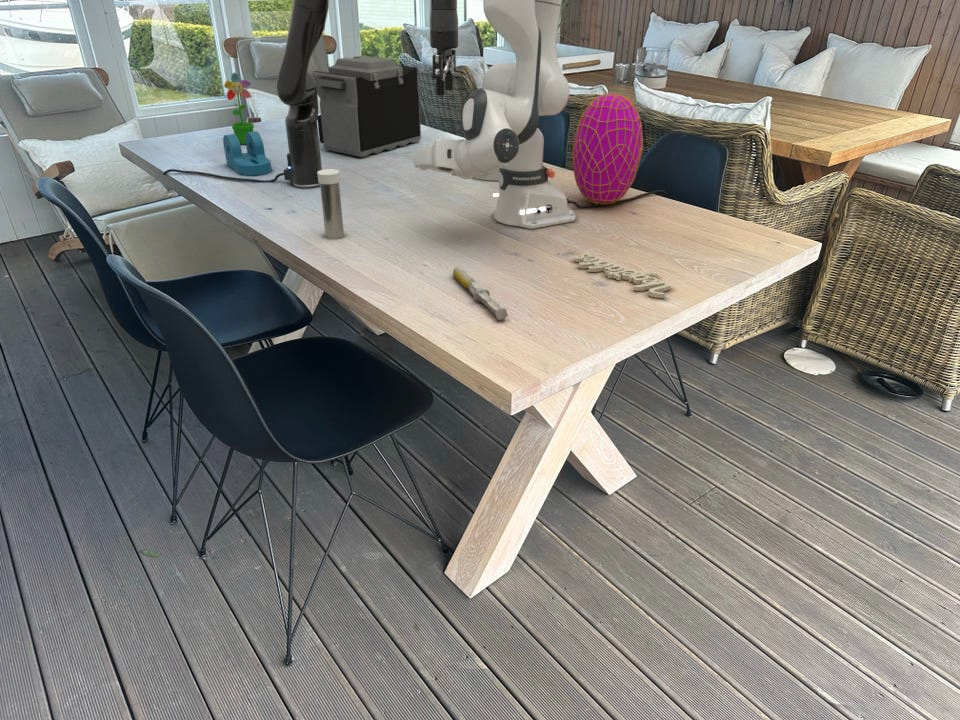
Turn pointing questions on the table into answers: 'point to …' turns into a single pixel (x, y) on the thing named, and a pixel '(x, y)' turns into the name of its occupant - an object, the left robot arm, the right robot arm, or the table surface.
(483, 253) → the table surface
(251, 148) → the camera mount
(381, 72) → the electronic device
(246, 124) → the potted flower
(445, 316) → the table surface
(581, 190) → the decorative egg
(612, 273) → the decorative sign
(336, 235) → the cylinder
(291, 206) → the table surface
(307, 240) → the table surface
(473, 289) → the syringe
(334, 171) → the lid
